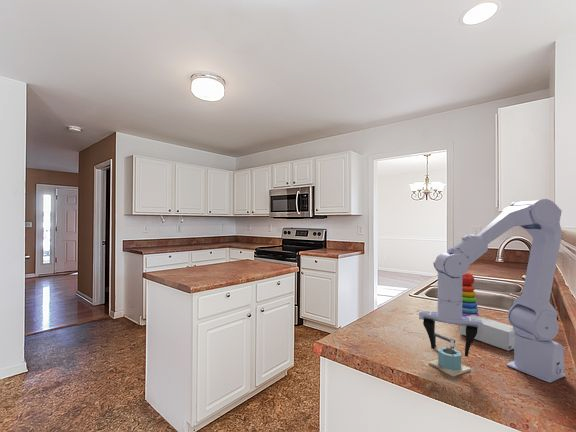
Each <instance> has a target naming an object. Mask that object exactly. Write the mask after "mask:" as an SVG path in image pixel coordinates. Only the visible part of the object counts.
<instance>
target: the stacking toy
mask: <svg viewBox="0 0 576 432" xmlns="http://www.w3.org/2000/svg"><path fill="white" fill-rule="evenodd" d="M474 283H475V277H474V275H473V274H472V273H470V272H466V274H465V275H462V316H465V317H466V316H471V315H476V316H479V317H480V313H478V312H479V307H478V302H477V297H475V296H476V292H475V286H474V285H473V284H474Z"/></svg>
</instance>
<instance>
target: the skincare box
mask: <svg viewBox="0 0 576 432" xmlns="http://www.w3.org/2000/svg"><path fill="white" fill-rule="evenodd" d="M466 317H469V318H473V319H478V320H482V321H483V330H479V329H477V335H476V337H475V338H474V340H477V341H480V342H481V343H485V344H488V345H490V346H494V347H497V348H499V349H502V350H505V351H507V352H508V351H511V350H514V330H513V325H510V324H506V323H504V322H500V321H497V320H494V319H490V318H486V317H482V316H480V315H479V316H476V315H471V316H466ZM459 335H462V336H464V337H466V326H461V325H459Z"/></svg>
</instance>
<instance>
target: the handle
mask: <svg viewBox="0 0 576 432" xmlns="http://www.w3.org/2000/svg"><path fill="white" fill-rule="evenodd" d="M436 338H439V339H441V340H443V341H445V342H448V343H449V344H450V345H449V347H451V348H452V349H455V344H456V340H455V339H453V338H450V337H448V336H445V335H443V334H440V333H437V332H435V347H436V346H437V345H436V343H437V342H436V341H437V340H436Z"/></svg>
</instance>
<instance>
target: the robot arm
mask: <svg viewBox="0 0 576 432" xmlns="http://www.w3.org/2000/svg"><path fill="white" fill-rule="evenodd" d="M562 212H563V211H562V210H561V208H560V207H559V206H558V205H557V204H556V203H555V202H554V201H553V200H551V199H548V198H541V199H537V200H524V201H523V200H522V201H521V200H517V201H513V202H512V203H511V204H509V206H506V207H505V208H503V209H502V212H501V213H500V214H499V215H498V216H496V217H495V218H494V219H493V220H492V221H491V222H490V223H488V224H487V225H486V226H485V227H483V229H482V230H480V231H479V232H478V233H477V234H472V233H469V234H468V235H463V236H462V237H461V240H460V241H459V242H457V244H455V245H454V246H453V247H449V248H448V249H447V252H442V253H440V254H439V255H438V256H436V258H435V261H433V267H434V269H435V271H436V272H437V311H431V310H430V311H429V310H420V311H419V312H418V314H419V315H418V316H419V317H418V319H419V320H422V324H423V327H424V329H425V330H426V333H427V336H428V338H429V342H430V345H431V346H430V348H431V349H432V350H435V347H436V346H435V333H436V332H435V328H436V326H435V325H436V322H438V323H444V324H451V325H456V326H460V325H461V326H466V336H465V346H464V356H465V357H469V352H470V348H471V346H472V343H473V341H474V340H475V339H474V338H475V337H476V335H477V329H479V330H483V321H482V320H478V319H473V318H469V317H465V316H462V275H465V274H466V273H468V270H469V266H471V264H473V263H474V262H475V261H476V260H478V259H479V258H480V257H482V256H483V255H484V254H485V253H487V252H488V249H489V244H490V243H491V242H493V241H495V240H497V238H499V237H501V236H502V235H504V234H505V233H506V232H508V231H510V230H511V229H512V228H514V227H520V228H522V229H523V230H525V231H526V232H527V233H528V234H529V235H530V236H531V237H532V243H531V246H530V252H529V258H528V263H527V268H526V272H525V278H524V283H523V288H522V293H521V295H519V296H518V297H515V298H514V299H513V304H512V305H511V307H510V308H509V310H508V312H507V321H508V322H509V324H511V326H513V330H514V349H513V361H510V362H508V363H506V366H507V367H509V368H512V369H514V370H517V371H519V372H522V373H525V374H527V375H530V376H531V377H534V378H536V379H539V380H542V381H545V382H547V383H552V382H555V381H558V380H559V379H561V378H564V377H566V373H565V371H564V370H565V350H564V346H563V345H562V344H561V343H559V342H557V341H555V340H553V339H554V338H555V337H556V336H557V335H558V333H559V323H558V319H557V318H558V311H557V310H556V309H555V307H554V306H553V305H552V304H551V302H550V299H551V294H552V288H553V284H554V283H553V282H554V277H555V273H556V269H557V268H556V267H557V262H558V257H559V251H560V246H561V242H562V236H563V231H562V228H561V227H562V226H561V223H560V222H561V216H562Z"/></svg>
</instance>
